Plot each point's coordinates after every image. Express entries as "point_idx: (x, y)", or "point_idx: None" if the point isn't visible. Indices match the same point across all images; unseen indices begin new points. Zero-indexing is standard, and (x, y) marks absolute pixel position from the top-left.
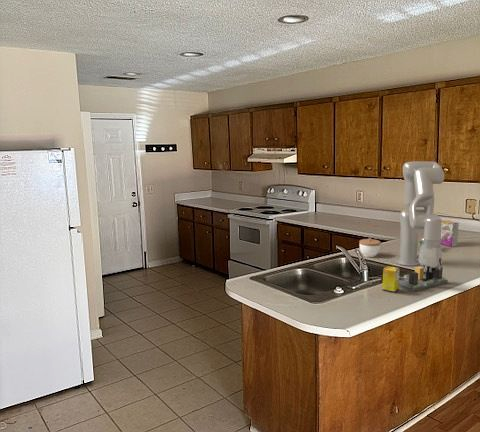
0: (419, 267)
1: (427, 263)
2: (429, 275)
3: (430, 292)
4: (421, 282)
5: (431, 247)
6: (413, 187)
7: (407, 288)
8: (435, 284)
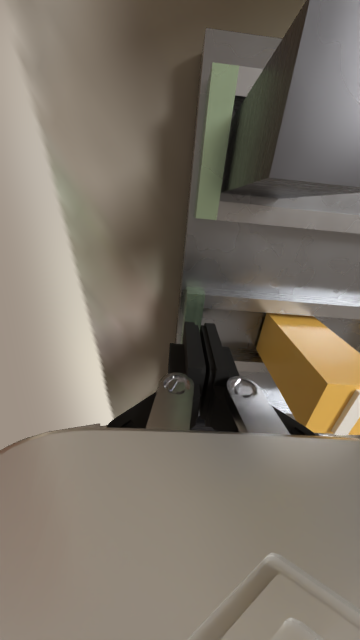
0: (352, 413)
1: (227, 493)
2: (185, 351)
3: (103, 210)
4: (236, 292)
5: None
6: None
7: (271, 50)
8: None
